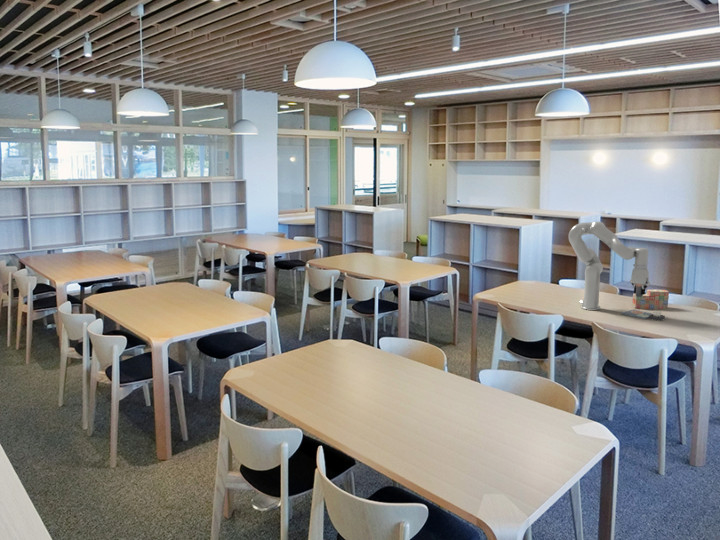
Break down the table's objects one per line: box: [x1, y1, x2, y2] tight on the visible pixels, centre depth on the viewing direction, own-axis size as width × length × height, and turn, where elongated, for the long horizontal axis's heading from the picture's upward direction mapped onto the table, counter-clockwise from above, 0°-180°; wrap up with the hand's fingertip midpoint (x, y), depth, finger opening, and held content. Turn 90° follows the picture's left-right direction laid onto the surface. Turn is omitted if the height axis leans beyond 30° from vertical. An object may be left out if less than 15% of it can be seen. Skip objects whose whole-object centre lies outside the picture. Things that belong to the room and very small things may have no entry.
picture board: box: [620, 309, 653, 320], centre depth 391 cm, size 17×14×1 cm
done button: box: [652, 311, 662, 317], centre depth 380 cm, size 5×5×2 cm
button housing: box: [648, 313, 666, 321], centre depth 380 cm, size 7×7×2 cm
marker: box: [636, 284, 643, 297], centre depth 391 cm, size 5×5×9 cm
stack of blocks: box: [631, 289, 670, 310], centre depth 408 cm, size 21×6×12 cm, turn 84°
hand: (639, 293), depth 391 cm, fingers closed on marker, 4 cm apart
